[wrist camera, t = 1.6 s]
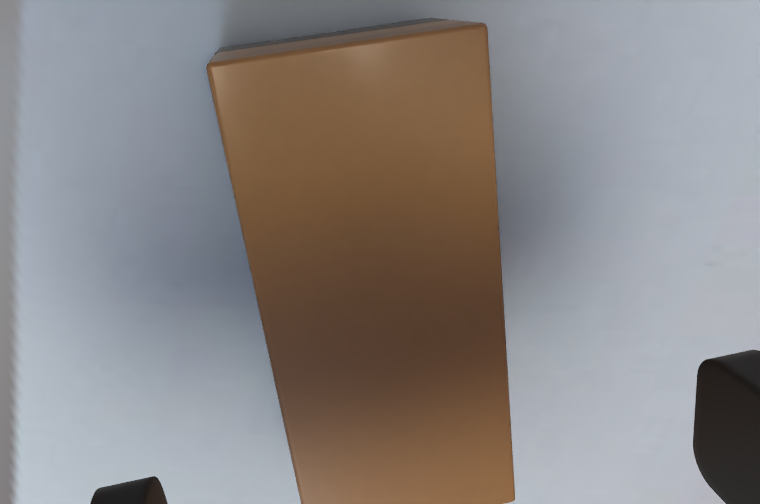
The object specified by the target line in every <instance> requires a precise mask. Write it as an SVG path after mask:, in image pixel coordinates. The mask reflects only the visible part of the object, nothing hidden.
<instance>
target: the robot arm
mask: <svg viewBox="0 0 760 504" xmlns="http://www.w3.org/2000/svg"><path fill="white" fill-rule="evenodd" d="M693 449H694V455H695V459H696V462H697V465H698V467H699V470H700V472H701V474H702V476H703V477H704V479H705V481H706V482H707V483H708V485H709V486H710V487H711V488H712V489H713V490H714V491H715V493H716V494H717V495H718V496H719V497H720V498H721V499H722V500H723V501H724V502H725V503H726V504H760V351H758V350H749V351H745V352H740V353H735V354H731V355H726V356H721V357H717V358H712V359H707V360H705V361H703V362H702V363H701V365H700V366H699V369H698V374H697V388H696V404H695V420H694V436H693ZM91 504H167V501H166V497H165V494H164V491H163V488H162V485H161V483H160V481H159V480H158V478H157V477H155V476H153V477H149V478H144V479H139V480H135V481H130V482H125V483H121V484H116V485H111V486H107V487H102V488H98V489H97V490H96V492H95V493H94V495H93V498H92V501H91Z"/></svg>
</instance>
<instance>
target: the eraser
mask: <svg viewBox="0 0 760 504" xmlns="http://www.w3.org/2000/svg"><path fill="white" fill-rule="evenodd" d="M206 69H207V74H208V79H209V83H210V88H211V92H212V97H213V102H214V106H215V111H216V115H217V120H218V124H219V129H220V134H221V138H222V143H223V147H224V152H225V156H226V161H227V166H228V170H229V175H230V179H231V184H232V189H233V193H234V198H235V202H236V207H237V211H238V216H239V221H240V225H241V230H242V234H243V239H244V243H245V248H246V253H247V257H248V262H249V266H250V271H251V276H252V280H253V285H254V289H255V294H256V298H257V303H258V308H259V312H260V317H261V321H262V326H263V330H264V335H265V340H266V344H267V349H268V353H269V358H270V362H271V367H272V372H273V376H274V381H275V385H276V390H277V395H278V399H279V404H280V408H281V413H282V417H283V422H284V427H285V431H286V436H287V440H288V445H289V449H290V454H291V459H292V463H293V468H294V472H295V477H296V482H297V486H298V491H299V495H300V500H301V504H504V503H508V502H512V501H514V500H515V489H514V472H513V455H512V438H511V421H510V404H509V387H508V370H507V353H506V336H505V319H504V302H503V285H502V268H501V251H500V234H499V217H498V200H497V183H496V166H495V149H494V132H493V115H492V98H491V81H490V64H489V47H488V30H487V26H486V24H484V23H478V22H467V21H455V20H447V19H437V18H427V19H420V20H413V21H406V22H399V23H392V24H385V25H378V26H371V27H364V28H357V29H349V30H342V31H335V32H328V33H321V34H314V35H307V36H300V37H293V38H286V39H279V40H272V41H265V42H258V43H251V44H244V45H236V46H229V47H222V48H219V49H218V50H217V51H216V53H215V55H214V56H213V58H212V59H211V60H210V61H209V62H208V64H207V67H206Z"/></svg>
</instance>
